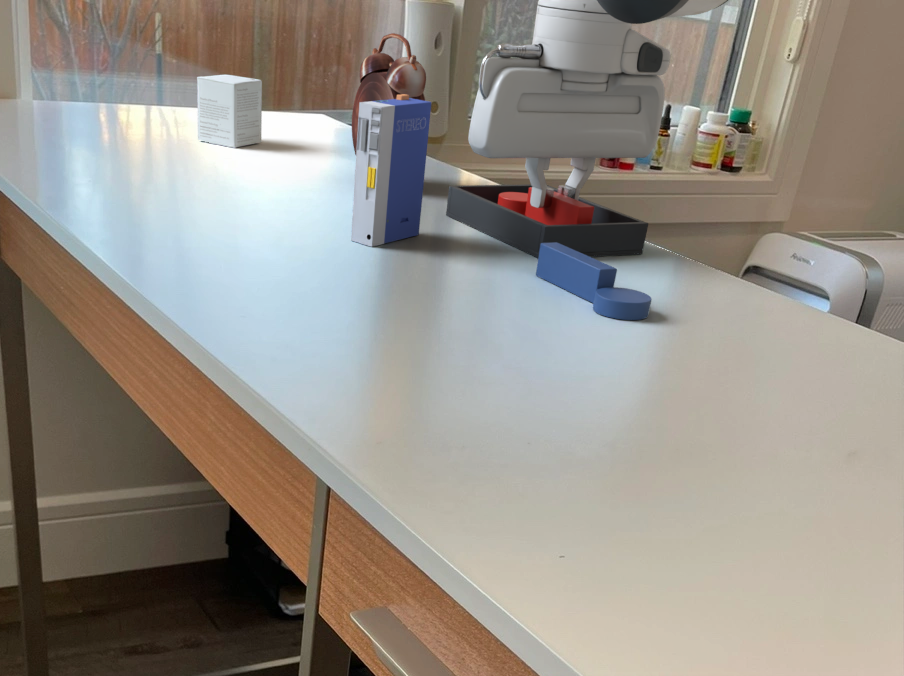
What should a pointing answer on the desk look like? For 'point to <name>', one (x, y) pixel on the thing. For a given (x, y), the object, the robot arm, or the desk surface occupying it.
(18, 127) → the desk surface
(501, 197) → the red spoon
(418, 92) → the alarm clock
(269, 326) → the desk surface
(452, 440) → the desk surface
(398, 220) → the walkman
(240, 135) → the product box
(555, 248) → the blue spoon
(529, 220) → the tray
